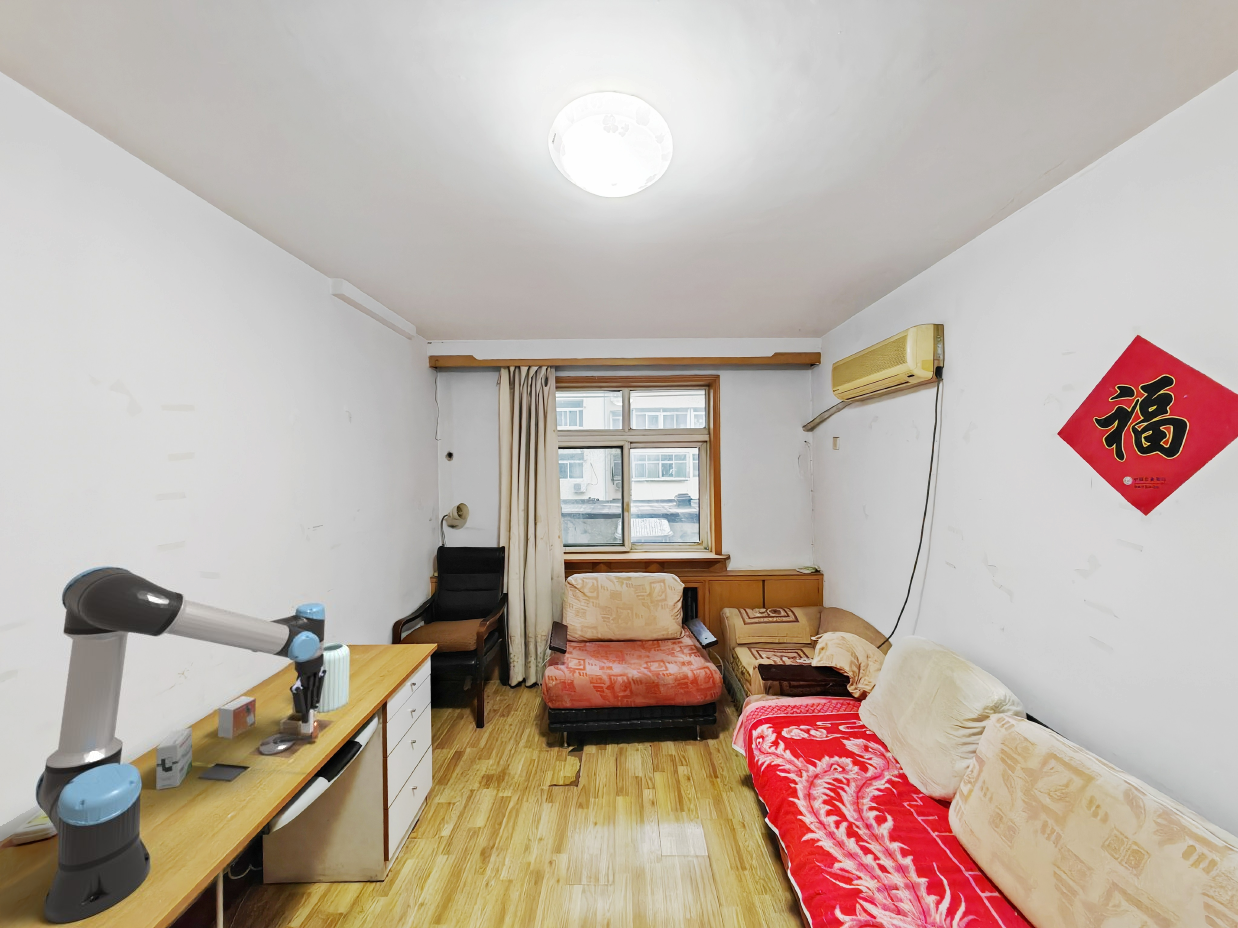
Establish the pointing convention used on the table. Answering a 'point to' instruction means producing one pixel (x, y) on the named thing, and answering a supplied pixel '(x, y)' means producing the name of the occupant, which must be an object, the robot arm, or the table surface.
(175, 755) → the ink box
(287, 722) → the square socket
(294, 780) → the table surface
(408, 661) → the table surface
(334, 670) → the vase
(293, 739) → the handwheel
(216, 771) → the mat
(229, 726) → the small box
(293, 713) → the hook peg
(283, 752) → the mount board
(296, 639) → the robot arm
